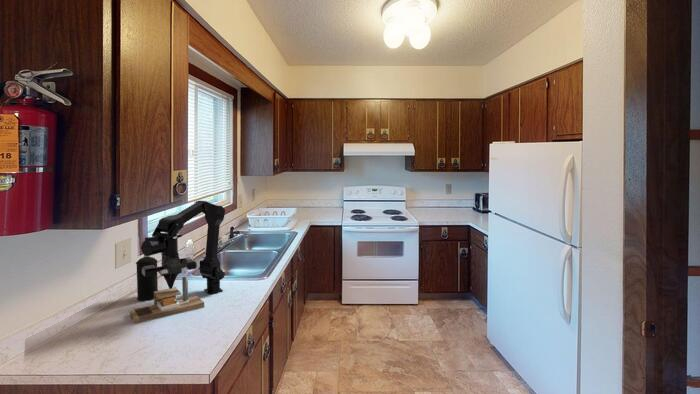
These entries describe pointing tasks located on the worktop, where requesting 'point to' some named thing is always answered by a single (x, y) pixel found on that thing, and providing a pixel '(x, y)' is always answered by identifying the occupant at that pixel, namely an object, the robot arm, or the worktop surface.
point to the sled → (177, 303)
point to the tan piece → (154, 311)
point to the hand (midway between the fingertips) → (170, 288)
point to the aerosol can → (146, 280)
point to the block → (167, 301)
